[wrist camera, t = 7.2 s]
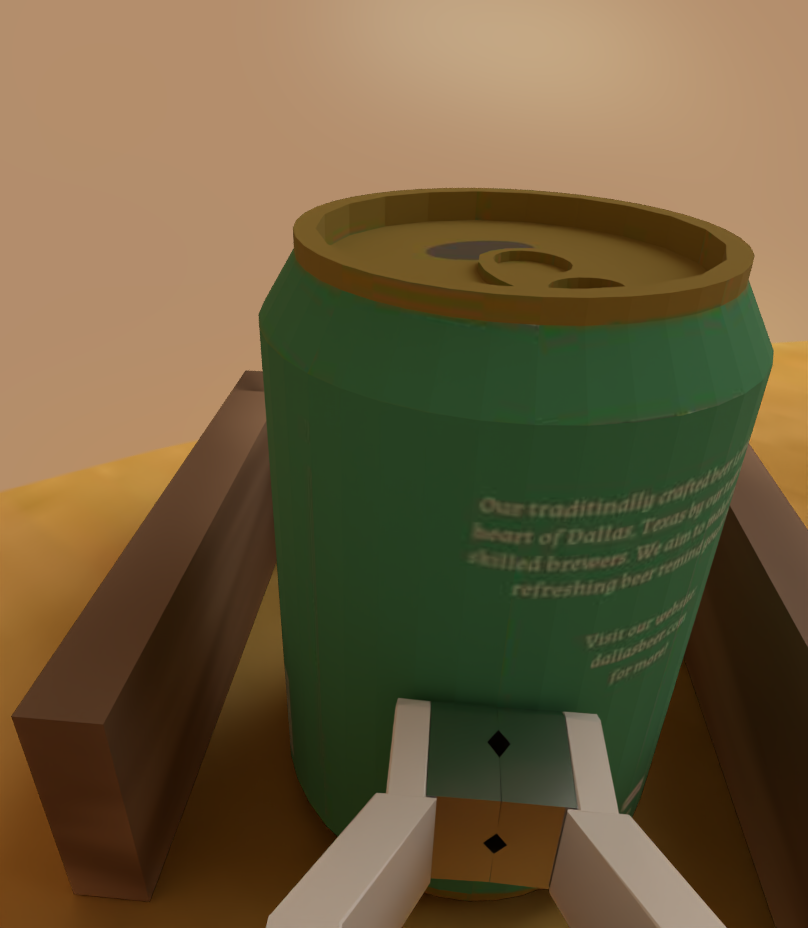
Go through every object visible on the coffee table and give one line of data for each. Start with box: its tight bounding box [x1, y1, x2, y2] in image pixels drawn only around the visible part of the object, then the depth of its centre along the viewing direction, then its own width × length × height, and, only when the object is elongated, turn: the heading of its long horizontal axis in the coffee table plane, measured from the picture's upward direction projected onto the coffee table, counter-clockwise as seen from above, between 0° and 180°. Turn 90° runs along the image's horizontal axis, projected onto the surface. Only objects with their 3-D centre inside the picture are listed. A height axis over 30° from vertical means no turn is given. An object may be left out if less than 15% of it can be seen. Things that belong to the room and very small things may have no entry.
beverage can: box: [259, 188, 774, 901], centre depth 14 cm, size 8×8×12 cm
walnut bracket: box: [11, 371, 808, 928], centre depth 19 cm, size 15×14×5 cm
